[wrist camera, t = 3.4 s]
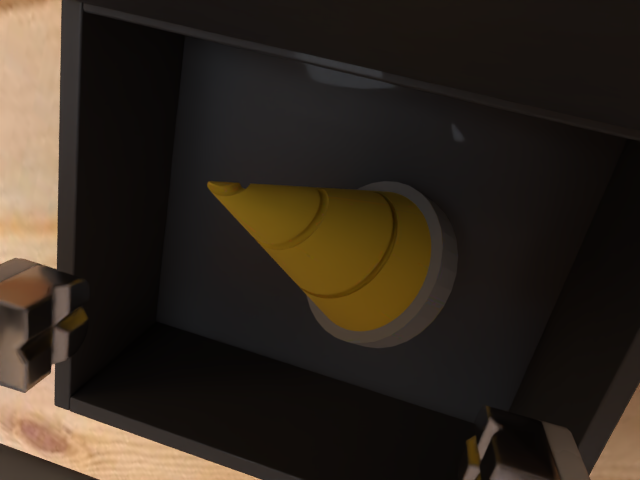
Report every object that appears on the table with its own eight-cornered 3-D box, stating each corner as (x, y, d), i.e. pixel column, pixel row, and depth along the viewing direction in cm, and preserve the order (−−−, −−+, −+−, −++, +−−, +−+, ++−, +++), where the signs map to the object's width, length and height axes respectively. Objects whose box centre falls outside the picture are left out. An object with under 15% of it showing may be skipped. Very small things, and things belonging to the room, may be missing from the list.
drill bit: (349, 329, 20) (120, 261, 13) (397, 208, 20) (198, 80, 13) (462, 386, 16) (222, 333, 9) (520, 236, 17) (328, 77, 10)
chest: (507, 437, 20) (534, 577, 15) (149, 322, 22) (53, 406, 17) (651, 116, 16) (773, 140, 10) (180, 9, 18) (61, -20, 12)
